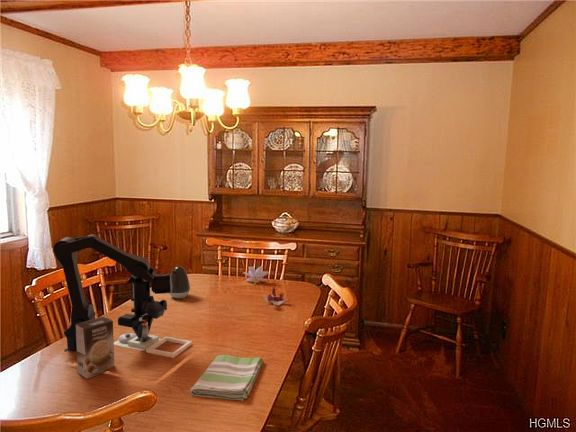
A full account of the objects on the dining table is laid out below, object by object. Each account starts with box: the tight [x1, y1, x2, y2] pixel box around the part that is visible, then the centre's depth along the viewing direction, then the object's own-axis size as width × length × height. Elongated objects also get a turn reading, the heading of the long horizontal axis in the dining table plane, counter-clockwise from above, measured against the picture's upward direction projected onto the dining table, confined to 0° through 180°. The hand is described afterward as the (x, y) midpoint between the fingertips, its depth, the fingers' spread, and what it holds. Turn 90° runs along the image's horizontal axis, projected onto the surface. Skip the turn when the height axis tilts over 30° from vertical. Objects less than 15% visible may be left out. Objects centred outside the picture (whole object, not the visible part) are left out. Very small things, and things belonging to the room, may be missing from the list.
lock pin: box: [138, 320, 150, 342], centre depth 152 cm, size 4×4×8 cm
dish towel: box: [189, 354, 264, 402], centre depth 132 cm, size 17×23×4 cm
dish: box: [145, 336, 193, 359], centre depth 149 cm, size 11×11×2 cm
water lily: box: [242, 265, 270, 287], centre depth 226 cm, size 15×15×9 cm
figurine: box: [261, 285, 288, 307], centre depth 197 cm, size 15×12×7 cm
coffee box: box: [76, 316, 115, 380], centre depth 134 cm, size 9×6×16 cm
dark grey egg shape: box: [169, 265, 191, 300], centre depth 204 cm, size 10×10×15 cm
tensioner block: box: [114, 332, 162, 352], centre depth 154 cm, size 10×14×3 cm
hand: (143, 336), depth 153 cm, fingers closed on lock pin, 3 cm apart
